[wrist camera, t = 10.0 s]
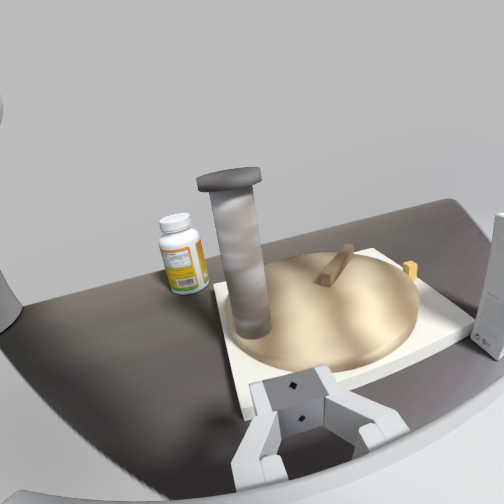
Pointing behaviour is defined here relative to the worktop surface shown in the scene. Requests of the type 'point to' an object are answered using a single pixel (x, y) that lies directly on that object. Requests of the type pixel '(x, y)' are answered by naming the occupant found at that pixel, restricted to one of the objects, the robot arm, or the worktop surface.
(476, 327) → the skincare box
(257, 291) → the dial
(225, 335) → the dial stand
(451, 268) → the worktop surface
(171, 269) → the supplement bottle
